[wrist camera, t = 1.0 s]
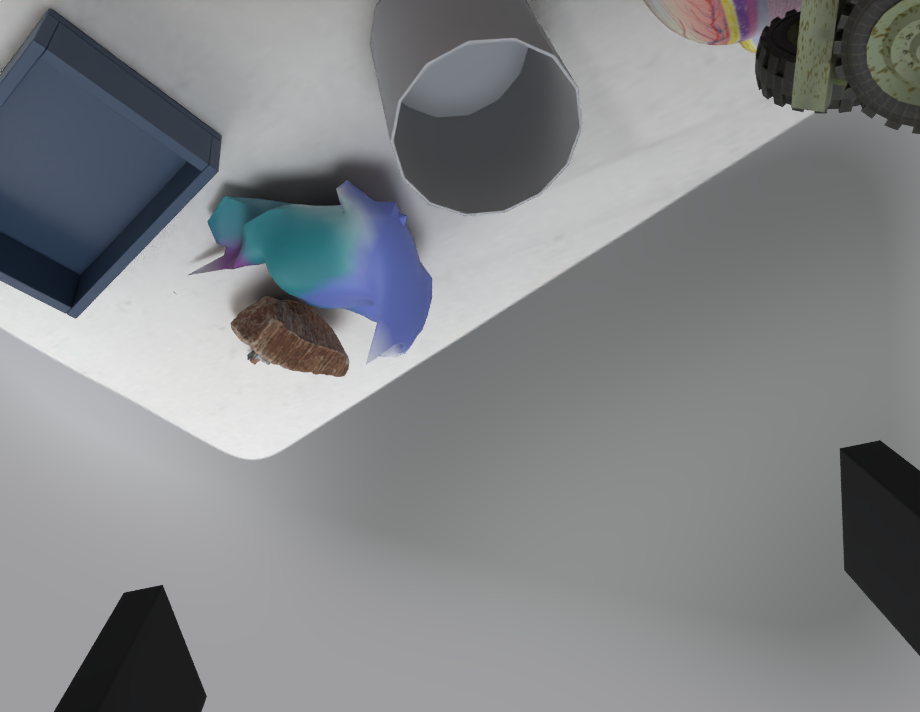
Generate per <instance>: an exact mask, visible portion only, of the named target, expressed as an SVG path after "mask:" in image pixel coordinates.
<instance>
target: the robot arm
mask: <svg viewBox="0 0 920 712" xmlns="http://www.w3.org/2000/svg"><path fill="white" fill-rule="evenodd" d="M840 466H841V492H842V517H843V518H842V519H843V544H844V545H843V546H844V570H845V571H846V573H847V574H848V575H849V576H850V577H851V578H852V579H853V580H854V582H855V583H856V584H857V585H858V586H859V587H860V588H861V590H862V591H863V592H864V593H865V594H866V595H867V596H868V598H869V599H870V600H871V601H872V602H873V603H874V604H875V605H876V607H877V608H878V609H879V610H880V611H881V612H882V613H883V614H884V615H885V617H886V618H887V619H888V620H889V621H890V622H891V624H892V625H893V626H894V627H895V628H896V629H897V631H898V632H899V633H900V634H901V635H902V636H903V637H904V638H905V640H906V641H907V642H908V643H909V644H910V645H911V646H912V648H913V649H914V650H915V651H916V652H917V653H918V654H919V655H920V471H919V470H918V469H917V468H915V467H914V466H913V465H912V464H910V463H909V462H908V461H906V460H905V459H904V458H902V457H901V456H900V455H899V454H897V453H896V452H895V451H893V450H892V449H890V448H889V447H888V446H887V445H885V444H884V443H883V442H882V441H875V442H870V443H865V444H860V445H855V446H850V447H845V448H840ZM206 697H207V696H206V694H205V691H204V689H203V686H202V683H201V681H200V678H199V676H198V673H197V671H196V668H195V666H194V663H193V661H192V658H191V656H190V653H189V651H188V648H187V645H186V643H185V640H184V638H183V635H182V633H181V630H180V628H179V625H178V623H177V620H176V618H175V615H174V612H173V610H172V608H171V605H170V602H169V600H168V597H167V595H166V592H165V590H164V587H163V585H160V586H155V587H150V588H145V589H140V590H135V591H130V592H126V593H123V595H122V597H121V599H120V600H119V602H118V604H117V605H116V607H115V609H114V611H113V613H112V614H111V616H110V617H109V619H108V621H107V623H106V624H105V626H104V627H103V629H102V631H101V633H100V634H99V636H98V638H97V639H96V641H95V643H94V645H93V646H92V648H91V650H90V651H89V653H88V655H87V656H86V658H85V660H84V662H83V663H82V665H81V667H80V668H79V670H78V672H77V673H76V675H75V677H74V678H73V680H72V682H71V684H70V685H69V687H68V689H67V691H66V692H65V694H64V696H63V697H62V699H61V701H60V702H59V704H58V706H57V707H56V709H55V711H54V712H201V711H202V708H203V706H204V703H205V700H206Z"/></svg>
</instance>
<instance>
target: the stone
mask: <svg viewBox="0 0 920 712" xmlns="http://www.w3.org/2000/svg"><path fill="white" fill-rule="evenodd" d="M231 328H232V330H233V331H234V333H235V334H236V336H237V337H238V338H239V339H240V340H241V341H242V342H243V343H245V344H248V345H250V347H251V348H252V349H253V350H254V351H255V352H256V353H257V354H258V355H260V356H261V358H263V359H265V360H266V361H268V362H270V363H272V364H277V365H280V366H282V367H283V368H287V369H289V370H292V371H300V372H312V373H313V374H325V375H332V376H336V377H341V376H345V374H346V372H347V370H348V367H349V359H348V356H347V354H346V353H345V351H344V348H343V347H342V345H341V343H340V341H339V339H338V337H337V336H336V334H335V333H334V331H333V330H332V328H331V327H330V326H329V325H328V324H327V323H326V322H325V321H324V320H323V319H322V318H321V316H320V315H319V314H318V313H317V311H315V310H314V309H313V308H312V307H310V306H308V305H306V304H304V303H301V302H298V301H294V300H289V299H287V300H278V299H275V298H273V297H270V296H266V297H263V298H261V299H260V300H259V301H257V302H256V303H255V304H252V305H250V306H249V307H247V308H246V309H244V310H243V311H241V312H240V313H239V314H238V315H237V317H236V318H235V319H234V320H233V321H232V322H231Z"/></svg>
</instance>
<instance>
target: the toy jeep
mask: <svg viewBox="0 0 920 712" xmlns="http://www.w3.org/2000/svg"><path fill="white" fill-rule="evenodd" d="M755 73H756V79H757V84H758V88H759V90H760V89H762V94H763V96H764V97H766V98H767V99H769V98H771V97H774V104H777V105H779V106H781V107H783V106H784V105H785V104H786V103H787V104H790V105H791V107H792V110H795V111H800V112H803V111H804V109H806V110H812V111H815V113H827V109H839V113H842V112H849V111H851V109H852V107H853V106H857V105H861V107H862V110H861V111H862V112H863V113H865V114H866V115H867V116H869V117H870V118H873V117H874V116H875V114H876V113H877V114H879V115H881V116H883V117H885V118H887V119H888V120H887V122H886V123H885V126H888V127H890V128H893V129H896V130H898V129H899V127H900V126H901V125H902V124H904V125H908V126H913V127H914V128H913V132H912V133H916V134H920V0H802V5H801V11H799V12H797V11H796V10H795V9H793V10H790V11H788V12H786V13H785V17H784V18H783V19H781V18H780V17H776V18H775V19H773V20H772V21H771V24H770V27H769V26H765V28H764V29H763V31H762V34H761V36H760V39H759V43H758V46H757V50H756V63H755Z"/></svg>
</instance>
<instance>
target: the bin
mask: <svg viewBox="0 0 920 712" xmlns="http://www.w3.org/2000/svg"><path fill="white" fill-rule="evenodd" d="M221 138H222V137H221V136H220V135H219V134H218V133H216V132H215V131H214V130H212V129H211V128H210V127H208V126H207V125H206V124H204V123H203V122H202V121H200V120H199V119H198V118H196V117H195V116H194V115H192V114H191V113H190V112H188V111H187V110H186V109H184V108H183V107H182V106H180V105H179V104H178V103H176V102H175V101H173V100H172V99H171V98H169V97H168V96H167V95H165V94H164V93H163V92H161V91H160V90H159V89H157V88H156V87H155V86H153V85H152V84H151V83H149V82H148V81H147V80H145V79H144V78H143V77H141V76H140V75H139V74H137V73H136V72H135V71H133V70H132V69H131V68H129V67H128V66H127V65H125V64H124V63H123V62H121V61H120V60H119V59H117V58H116V57H115V56H113V55H112V54H111V53H109V52H108V51H107V50H105V49H104V48H103V47H101V46H100V45H99V44H97V43H96V42H95V41H93V40H92V39H91V38H89V37H88V36H86V35H85V34H84V33H82V32H81V31H80V30H78V29H77V28H76V27H74V26H73V25H72V24H70V23H69V22H68V21H66V20H65V19H64V18H62V17H61V16H60V15H58V14H57V13H56V12H54V11H53V10H52V9H48V11H47V12H46V13H45V15H44V16H43V17H42V19H41V20H40V21H39V23H38V24H37V25H36V27H35V28H34V30H33V31H32V32H31V34H30V35H29V36H28V38H27V39H26V40H25V42H24V43H23V44H22V46H21V47H20V48H19V50H18V51H17V52H16V54H15V55H14V56H13V58H12V59H11V60H10V62H9V63H8V64H7V66H6V67H5V68H4V70H3V71H2V72H1V74H0V281H2V282H4V283H6V284H8V285H10V286H12V287H14V288H16V289H18V290H20V291H22V292H24V293H26V294H28V295H30V296H32V297H34V298H36V299H38V300H40V301H42V302H44V303H46V304H48V305H50V306H52V307H54V308H56V309H58V310H60V311H62V312H64V313H67V314H68V315H70V316H71V317H73V318H77V317H78V316H79V315H80V314H81V313H82V312H83V311H84V310H85V309H86V308H87V307H88V306H89V305H90V304H91V303H92V302H93V301H94V300H95V299H96V298H97V297H98V296H99V294H100V293H101V292H102V291H103V290H104V289H105V288H106V287H107V286H108V285H109V284H110V283H111V282H112V281H113V280H114V279H115V278H116V277H117V276H118V275H119V274H120V273H121V272H122V271H123V270H124V269H125V268H126V267H127V265H128V264H129V263H130V262H131V261H132V260H133V259H134V258H135V257H136V256H137V255H138V254H139V253H140V252H141V251H142V250H143V249H144V248H145V247H146V246H147V245H148V244H149V243H150V242H151V241H152V240H153V239H154V238H155V237H156V235H157V234H158V233H159V232H160V231H161V230H162V229H163V228H164V227H165V226H166V225H167V224H168V223H169V222H170V221H171V220H172V219H173V218H174V217H175V216H176V215H177V214H178V213H179V212H180V211H181V210H182V209H183V208H184V206H185V205H186V204H187V203H188V202H189V201H190V200H191V199H192V198H193V197H194V196H195V195H196V194H197V193H198V192H199V191H200V190H201V189H202V188H203V187H204V186H205V185H206V184H207V183H208V182H209V181H210V180H211V179H212V178H213V176H214V175H215V174H216V173H217V172H218V170H219V159H220V149H221Z"/></svg>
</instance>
